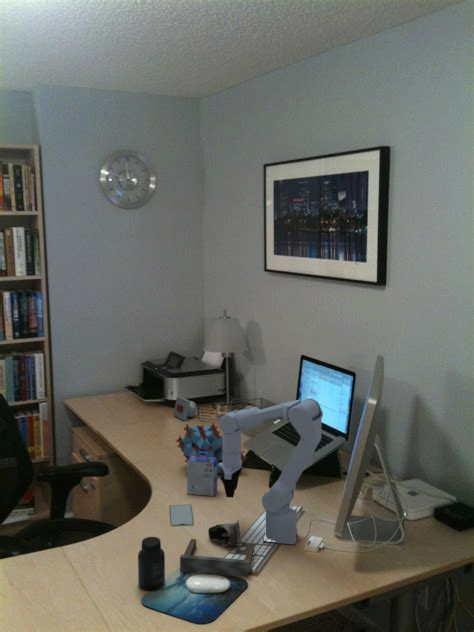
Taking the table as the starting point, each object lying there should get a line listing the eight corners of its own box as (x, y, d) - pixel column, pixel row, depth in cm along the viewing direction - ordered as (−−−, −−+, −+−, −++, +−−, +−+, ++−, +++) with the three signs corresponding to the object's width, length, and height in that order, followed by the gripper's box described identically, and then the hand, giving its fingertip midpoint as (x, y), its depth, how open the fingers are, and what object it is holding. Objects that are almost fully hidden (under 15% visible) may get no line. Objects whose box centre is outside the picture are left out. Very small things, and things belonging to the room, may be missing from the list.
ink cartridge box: (217, 490, 228) (218, 451, 226) (214, 496, 223) (214, 456, 221) (190, 488, 230) (190, 449, 228) (186, 494, 225) (186, 454, 223)
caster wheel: (212, 540, 197) (244, 537, 196) (206, 551, 186) (240, 548, 184) (209, 518, 197) (241, 515, 196) (203, 527, 186) (237, 524, 185)
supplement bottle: (165, 577, 171) (165, 534, 170) (163, 591, 164) (163, 547, 163) (140, 577, 171) (139, 534, 169) (136, 591, 164) (136, 547, 163)
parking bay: (254, 552, 185) (254, 538, 184) (248, 577, 172) (248, 562, 171) (191, 547, 187) (191, 534, 187) (180, 571, 174) (180, 557, 174)
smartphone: (191, 504, 216) (194, 524, 201) (191, 506, 216) (194, 526, 201) (169, 505, 215) (170, 525, 200) (169, 507, 215) (170, 527, 200)
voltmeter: (168, 419, 312) (168, 400, 311) (178, 413, 322) (178, 394, 321) (219, 426, 302) (219, 405, 301) (228, 419, 313) (228, 399, 312)
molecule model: (245, 440, 256) (192, 410, 250) (253, 452, 242) (196, 420, 236) (224, 475, 256) (170, 446, 250) (230, 489, 242) (173, 458, 236)
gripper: (222, 442, 206) (222, 483, 208) (214, 458, 192) (214, 501, 194) (244, 443, 205) (244, 484, 207) (237, 459, 191) (237, 503, 193)
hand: (231, 492), depth 200 cm, fingers open, 5 cm apart
